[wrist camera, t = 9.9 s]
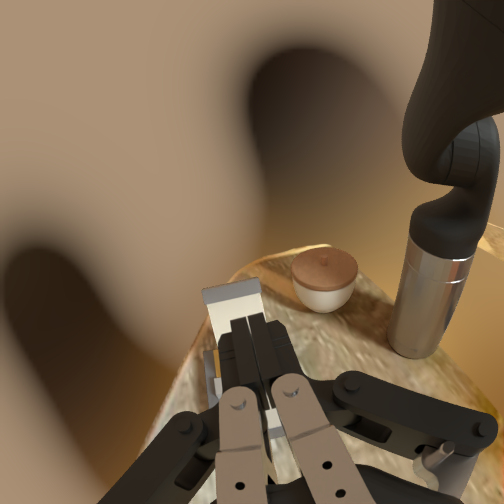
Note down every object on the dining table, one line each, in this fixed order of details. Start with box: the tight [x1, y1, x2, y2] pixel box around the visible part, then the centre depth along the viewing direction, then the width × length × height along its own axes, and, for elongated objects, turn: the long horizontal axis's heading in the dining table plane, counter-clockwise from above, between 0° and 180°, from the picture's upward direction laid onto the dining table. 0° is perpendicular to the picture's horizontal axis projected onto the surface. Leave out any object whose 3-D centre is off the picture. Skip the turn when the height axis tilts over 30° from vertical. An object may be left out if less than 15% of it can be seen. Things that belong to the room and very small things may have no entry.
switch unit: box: [203, 349, 285, 439], centre depth 31 cm, size 14×12×4 cm
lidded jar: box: [291, 247, 358, 313], centre depth 43 cm, size 11×11×9 cm
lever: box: [202, 277, 267, 346], centre depth 30 cm, size 2×6×12 cm
